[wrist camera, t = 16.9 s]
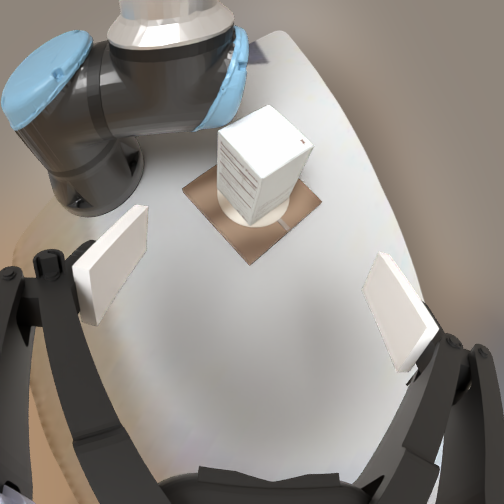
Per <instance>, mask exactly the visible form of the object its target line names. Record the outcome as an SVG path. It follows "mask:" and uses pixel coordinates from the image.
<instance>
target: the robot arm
mask: <svg viewBox="0 0 504 504" xmlns="http://www.w3.org/2000/svg"><path fill="white" fill-rule="evenodd" d="M119 4H120V12H121V13H120V15H119V17H118V18H117V19H116V20H115V22H114V23H113V24H112V25H111V27H110V28H109V30H108V32H107V37H108V40H107V41H103V42H98V43H93V38H92V37H91V36H90V35H89V34H88V33H87V32H86V31H80V30H74V31H69V32H66V33H64V34H61V35H59V36H57V37H55V38H53V39H51V40H49V41H48V42H46V43H45V44H43V45H42V46H40V47H39V48H38V49H36V50H35V51H34V52H32V53H31V54H30V55H29V56H28V57H27V58H26V59H25V60H24V61H23V62H22V63H21V64H20V65H19V66H18V67H17V68H16V70H15V71H14V72H13V74H12V75H11V76H10V78H9V80H8V81H7V83H6V85H5V87H4V90H3V93H2V97H1V106H2V110H3V112H4V114H5V115H6V117H7V118H8V120H9V122H10V125H11V127H12V129H13V130H14V131H15V132H16V133H17V134H18V136H19V137H20V138H21V139H22V141H23V142H24V143H25V144H26V146H27V147H28V148H29V149H30V150H31V152H32V153H33V154H34V155H35V156H36V157H37V159H38V160H39V161H40V162H41V163H42V165H44V167H45V168H46V169H47V170H48V174H49V178H50V182H51V185H52V189H53V192H54V194H55V196H56V198H57V200H58V201H59V202H60V203H61V204H62V205H63V207H64V208H65V209H67V210H68V211H69V212H71V213H72V214H75V215H77V216H82V217H94V216H99V215H102V214H105V213H107V212H109V211H111V210H113V209H115V208H116V207H118V206H119V205H121V204H122V203H123V202H124V201H125V200H126V199H127V198H128V197H129V196H130V195H131V194H132V193H133V191H134V190H135V188H136V187H137V185H138V183H139V181H140V179H141V176H142V173H143V167H144V159H143V154H142V151H141V148H140V145H139V143H138V141H137V140H136V138H135V137H134V136H142V135H152V134H162V133H173V132H186V131H190V132H196V131H198V130H200V129H209V128H218V127H222V126H225V125H226V124H228V123H229V122H230V121H231V120H232V119H233V118H234V116H235V115H236V113H237V111H238V108H239V106H240V103H241V99H242V96H243V91H244V87H245V82H246V76H247V72H246V66H247V62H248V57H249V44H248V37H247V33H246V31H245V30H244V29H243V28H240V27H238V26H236V25H235V26H234V14H233V13H232V12H231V11H230V10H229V9H228V8H227V7H226V6H225V5H223V4H222V3H221V2H220V1H219V0H119ZM147 223H148V206H143V205H137V204H136V205H134V206H133V207H132V208H131V209H130V210H129V211H128V212H127V213H126V214H124V215H123V216H122V217H121V218H120V219H119V220H118V221H117V222H116V223H115V224H114V225H113V226H112V227H111V228H110V229H108V230H107V231H106V232H105V233H104V234H103V235H102V236H101V237H100V238H99V239H98V240H97V241H94V240H89V241H87V242H85V243H83V244H82V245H81V246H79V247H78V248H77V249H76V250H75V251H74V252H73V253H72V255H70V256H69V257H68V258H67V259H66V260H65V259H64V254H63V253H62V252H61V251H59V250H56V249H48V250H44V251H41V252H39V253H38V254H36V255H35V257H34V259H33V264H34V269H35V274H36V278H26V277H24V276H23V272H22V270H21V268H19V267H16V266H11V267H6V268H4V269H2V270H1V271H0V504H35V503H34V502H33V501H32V493H33V491H32V489H33V486H32V472H31V462H30V450H29V425H28V408H29V382H30V369H31V358H32V349H33V341H34V334H35V328H36V326H37V327H43V332H44V337H45V343H46V348H47V352H48V357H49V361H50V366H51V370H52V374H53V378H54V382H55V385H56V389H57V392H58V396H59V399H60V402H61V406H62V409H63V412H64V415H65V418H66V421H67V424H68V426H69V429H70V432H71V435H72V438H73V447H74V450H75V453H76V455H77V458H78V460H79V462H80V465H81V467H82V469H83V471H84V473H85V476H86V478H87V480H88V482H89V484H90V486H91V488H92V490H93V492H94V494H95V496H96V498H97V499H98V501H99V503H100V504H427V501H428V499H429V497H430V495H431V492H432V490H433V487H434V485H435V482H436V480H437V477H438V475H439V471H440V468H439V466H438V465H436V464H434V462H435V459H436V456H437V453H438V450H439V447H440V444H441V441H442V438H443V435H444V444H443V455H442V465H441V473H440V480H439V486H438V493H437V498H436V503H435V504H504V415H503V408H502V402H501V396H500V390H499V385H498V380H497V375H496V370H495V366H494V362H493V358H492V355H491V353H490V351H489V349H488V348H486V347H485V346H483V345H481V344H475V345H474V347H473V348H472V350H471V351H469V350H466V349H463V345H462V343H461V342H460V341H459V340H458V338H456V337H455V336H454V335H451V334H448V333H444V331H443V329H442V328H441V326H440V324H439V323H438V321H437V320H436V319H435V317H434V315H433V313H432V312H431V310H430V309H429V307H428V306H427V305H426V304H425V303H424V302H423V301H422V300H421V299H420V298H419V296H418V295H417V293H416V292H415V290H414V289H413V287H412V286H411V284H410V283H409V281H408V280H407V279H406V277H405V276H404V274H403V273H402V271H401V270H400V269H399V267H398V266H397V264H396V263H395V262H394V260H393V259H392V257H391V256H390V255H389V254H387V253H382V252H378V253H377V256H376V258H375V261H374V263H373V265H372V268H371V270H370V272H369V275H368V277H367V279H366V281H365V284H364V286H363V288H362V292H363V294H364V297H365V299H366V301H367V303H368V305H369V308H370V310H371V312H372V314H373V317H374V319H375V321H376V324H377V326H378V328H379V331H380V333H381V335H382V338H383V340H384V342H385V345H386V347H387V350H388V352H389V355H390V357H391V360H392V362H393V365H394V367H395V370H396V372H409V371H410V370H411V369H412V367H413V366H414V365H415V363H416V365H417V367H418V370H417V371H416V373H415V374H414V375H413V376H412V378H411V379H410V380H409V381H408V383H407V384H406V385H407V386H408V385H409V384H410V385H409V387H408V389H407V392H406V394H405V396H404V398H403V400H402V402H401V404H400V406H399V409H398V411H397V413H396V415H395V416H394V418H393V420H392V422H391V424H390V426H389V428H388V430H387V432H386V433H385V435H384V437H383V439H382V441H381V442H380V444H379V446H378V448H377V449H376V451H375V453H374V454H373V456H372V458H371V459H370V461H369V462H368V464H367V466H366V467H365V469H364V470H363V472H362V473H361V475H360V476H359V478H358V479H357V480H356V481H355V482H354V483H353V484H349V483H346V482H343V481H340V480H339V473H331V474H307V475H303V476H299V477H295V478H290V479H286V480H281V481H276V482H270V481H266V480H263V479H259V478H256V477H252V476H249V475H246V474H243V473H240V472H236V471H230V470H221V469H214V468H207V467H201V466H199V470H198V473H189V474H182V475H178V476H174V477H171V478H168V479H165V480H163V481H161V482H159V483H157V482H156V480H155V479H154V477H153V476H152V474H151V473H150V471H149V469H148V468H147V466H146V465H145V463H144V461H143V460H142V458H141V456H140V455H139V453H138V451H137V449H136V448H135V446H134V444H133V442H132V440H131V439H130V437H129V435H128V433H127V431H126V430H125V428H124V427H123V426H122V424H121V423H120V421H119V419H118V417H117V415H116V413H115V410H114V408H113V406H112V404H111V402H110V400H109V397H108V395H107V393H106V391H105V388H104V386H103V384H102V381H101V379H100V377H99V374H98V372H97V369H96V367H95V364H94V361H93V359H92V356H91V353H90V351H89V348H88V345H87V342H86V339H85V336H84V333H83V330H82V327H81V324H80V321H79V318H78V313H79V312H80V315H81V319H82V322H84V323H88V324H91V325H94V326H98V325H99V323H100V321H101V320H102V318H103V316H104V315H105V313H106V312H107V310H108V308H109V307H110V305H111V304H112V302H113V300H114V299H115V297H116V296H117V294H118V293H119V291H120V289H121V288H122V286H123V285H124V283H125V282H126V280H127V279H128V277H129V276H130V274H131V273H132V271H133V270H134V268H135V267H136V265H137V264H138V262H139V261H140V259H141V258H142V257H143V255H144V254H145V252H146V251H147ZM470 386H471V387H470ZM469 387H470V389H469Z"/></svg>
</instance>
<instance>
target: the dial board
mask: <svg viewBox="0 0 504 504" xmlns="http://www.w3.org/2000/svg"><path fill="white" fill-rule="evenodd" d="M182 190H183V193H184V194H185V195H186V196H187V197H188V198H189V199H190V200H191V201H192V203H193V204H194V205H195V206H196V207H197V208H198V209H199V210H200V212H201V213H202V214H203V215H204V216H205V217H206V218H207V219H208V220H209V221H210V223H211V224H212V225H213V226H214V227H215V228H216V229H217V230H218V231H219V233H220V234H221V235H222V236H223V237H224V238H225V239H226V240H227V241H228V243H229V244H230V245H231V246H232V247H233V248H234V249H235V250H236V251H237V252H238V254H239V255H240V256H241V257H242V258H243V259H244V260H245V261H246V262H247V263H248V265H249V266H250V265H251V264H252V263H253V262H254V261H255V260H257V259H258V258H259V257H260V256H261V255H262V254H264V253H265V252H266V251H267V250H268V249H269V248H270V247H272V246H273V245H274V244H275V243H276V242H277V241H279V240H280V239H281V238H282V237H283V236H284V235H285V234H287V233H288V232H289V231H290V230H291V229H292V228H293V227H295V226H296V225H297V224H298V223H299V222H300V221H301V220H303V219H304V218H305V217H306V216H307V215H308V214H310V213H311V212H312V211H313V210H314V209H315V208H316V207H317V206H319V205H320V204H321V202H322V201H321V200H320V199H319V198H318V197H317V196H316V195H315V194H314V193H313V192H312V191H311V190H310V189H309V188H308V187H307V186H306V185H305V184H304V183H303V182H302V181H301V180H300V179H299V178H298V180H297V182H296V184H295V186H294V188H293V190H292V192H291V194H290V196H289V198H288V199H287V200H285V201H284V202H282V203H281V204H280V205H278V206H277V207H276V208H274V209H273V210H272V211H270V212H269V213H268V214H266V215H265V216H264V217H262V218H261V219H259V220H258V221H257V222H255V223H254V224H252V225H251V226H249V225H248V223H247V222H246V221H245V220H244V219H243V218H242V216H241V215H240V214H239V213H238V212H237V211H236V210H235V208H234V207H233V206H232V205H231V204H230V203H229V201H228V200H227V199H226V198H225V197H224V196H223V195H222V193H221V192H220V191H219V190H218V189H217V165H215V166H214V167H212V168H211V169H209V170H208V171H206V172H205V173H203V174H202V175H201V176H199V177H198V178H196V179H195V180H194V181H192V182H191V183H189V184H188V185H187V186H185V187H184V188H182Z"/></svg>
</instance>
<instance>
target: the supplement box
mask: <svg viewBox="0 0 504 504" xmlns="http://www.w3.org/2000/svg"><path fill="white" fill-rule="evenodd" d="M313 147H314V145H313V144H312V143H311V142H310V141H309V140H308V139H307V138H306V137H305V136H304V135H303V134H302V133H301V132H300V131H299V130H297V129H296V128H295V127H294V126H293V125H292V124H291V123H290V122H289V121H288V120H287V119H285V118H284V117H283V116H282V115H281V114H280V113H279V112H278V111H276V110H275V109H274V108H273V107H272V106H270V105H267V106H265V107H263V108H261V109H259V110H257V111H255V112H253V113H251V114H249V115H247V116H245V117H243V118H241V119H239V120H237V121H235V122H233V123H232V124H230V125H228V126H226V127H224V128H222V129H220V130H219V131H218V148H217V189H218V190H219V191H220V192H221V193H222V195H223V196H224V197H225V198H226V199H227V200H228V201H229V203H230V204H231V205H232V206H233V207H234V208H235V210H236V211H237V212H238V213H239V214H240V215H241V216H242V218H243V219H244V220H245V221H246V222H247V223H248V225H249V226H251V225H252V224H254V223H255V222H257V221H258V220H259V219H261V218H262V217H264V216H265V215H266V214H268V213H269V212H270V211H272V210H273V209H274V208H276V207H277V206H278V205H280V204H281V203H282V202H284V201H285V200H287V199H288V198H289V196H290V194H291V192H292V190H293V188H294V186H295V184H296V182H297V180H298V178H299V176H300V174H301V172H302V170H303V168H304V166H305V164H306V161H307V159H308V157H309V155H310V153H311V151H312V149H313Z"/></svg>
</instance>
